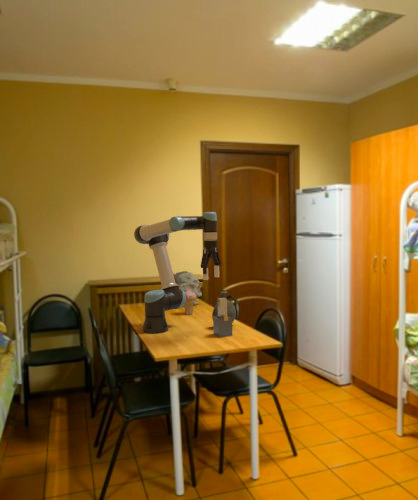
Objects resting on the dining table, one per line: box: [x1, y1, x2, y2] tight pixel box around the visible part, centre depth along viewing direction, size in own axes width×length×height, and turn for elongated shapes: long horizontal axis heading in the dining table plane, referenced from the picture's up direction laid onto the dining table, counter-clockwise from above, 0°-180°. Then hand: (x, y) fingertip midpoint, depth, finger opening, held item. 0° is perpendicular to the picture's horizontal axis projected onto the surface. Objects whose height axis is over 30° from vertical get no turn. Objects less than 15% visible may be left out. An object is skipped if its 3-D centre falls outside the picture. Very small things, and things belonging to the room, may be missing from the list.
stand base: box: [212, 315, 233, 338], centre depth 246 cm, size 16×16×12 cm
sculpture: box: [173, 270, 203, 308], centre depth 345 cm, size 20×25×30 cm
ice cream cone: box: [183, 286, 198, 316], centre depth 309 cm, size 11×11×20 cm
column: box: [217, 297, 228, 318], centre depth 245 cm, size 4×4×20 cm
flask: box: [211, 290, 237, 324], centre depth 265 cm, size 12×17×22 cm
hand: (211, 278), depth 247 cm, fingers open, 13 cm apart
